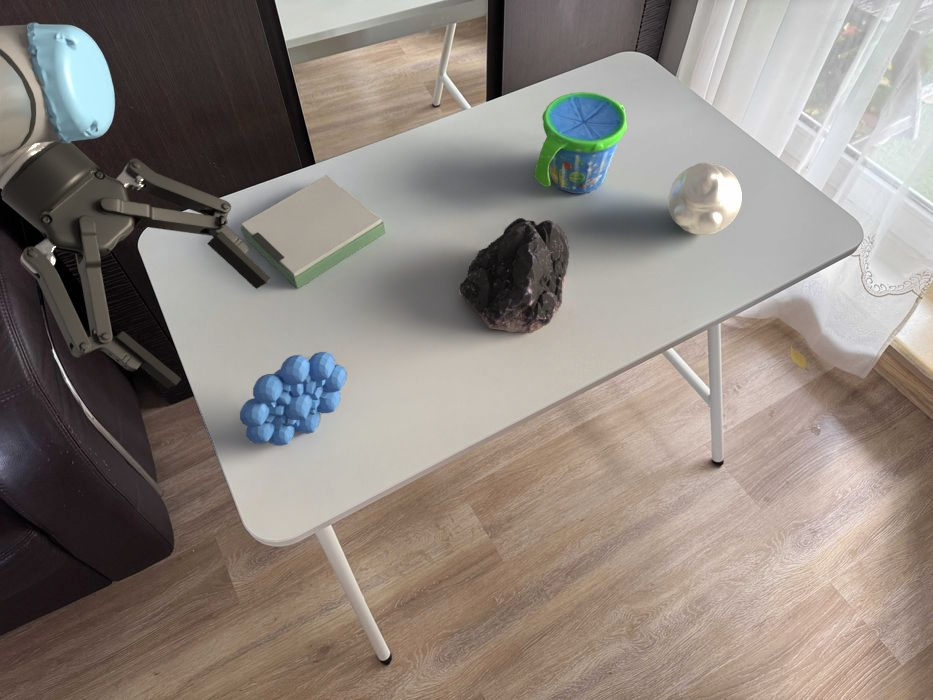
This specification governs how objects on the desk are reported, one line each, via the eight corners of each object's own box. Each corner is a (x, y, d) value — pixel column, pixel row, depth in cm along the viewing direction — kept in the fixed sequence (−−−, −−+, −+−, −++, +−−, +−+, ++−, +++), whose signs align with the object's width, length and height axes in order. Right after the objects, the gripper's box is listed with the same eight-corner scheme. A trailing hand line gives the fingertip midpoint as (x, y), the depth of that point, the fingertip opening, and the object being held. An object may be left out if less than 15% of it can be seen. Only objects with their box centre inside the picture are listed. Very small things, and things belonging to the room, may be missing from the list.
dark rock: (470, 348, 83) (477, 299, 75) (448, 259, 90) (452, 204, 82) (578, 334, 86) (597, 284, 77) (550, 247, 92) (564, 192, 84)
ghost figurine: (644, 217, 94) (658, 156, 86) (701, 193, 97) (721, 132, 89) (686, 261, 90) (706, 201, 82) (746, 235, 92) (771, 174, 84)
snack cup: (560, 223, 94) (566, 162, 86) (509, 182, 99) (511, 120, 91) (644, 174, 99) (658, 111, 91) (592, 136, 104) (601, 74, 96)
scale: (297, 289, 89) (292, 275, 87) (243, 236, 94) (237, 222, 92) (385, 233, 94) (383, 218, 92) (329, 186, 100) (326, 172, 98)
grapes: (338, 376, 81) (317, 309, 71) (365, 420, 77) (347, 356, 68) (241, 425, 77) (206, 362, 68) (265, 472, 74) (231, 413, 64)
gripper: (122, 103, 71) (281, 256, 79) (-94, 272, 58) (121, 435, 66) (141, 68, 65) (311, 237, 73) (-94, 247, 52) (142, 429, 60)
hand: (221, 331), depth 69 cm, fingers open, 13 cm apart
